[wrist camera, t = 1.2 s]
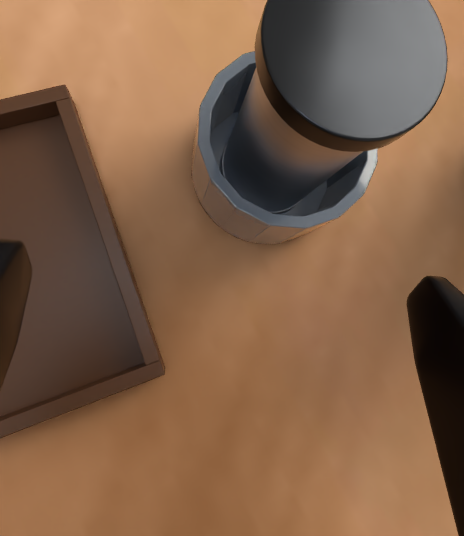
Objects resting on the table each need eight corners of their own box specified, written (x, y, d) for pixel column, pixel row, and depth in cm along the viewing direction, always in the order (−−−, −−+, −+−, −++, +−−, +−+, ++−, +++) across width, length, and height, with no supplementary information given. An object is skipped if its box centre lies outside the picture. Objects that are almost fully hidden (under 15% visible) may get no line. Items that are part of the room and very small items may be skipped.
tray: (165, 368, 23) (165, 374, 21) (-67, 457, 20) (-92, 473, 18) (74, 102, 23) (65, 83, 21) (-162, 160, 21) (-197, 145, 19)
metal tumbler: (329, 203, 25) (475, 112, 13) (235, 234, 24) (302, 165, 12) (294, 109, 25) (409, -65, 13) (200, 135, 24) (232, -30, 12)
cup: (352, 218, 25) (402, 195, 20) (220, 264, 24) (236, 252, 18) (305, 87, 26) (341, 29, 20) (171, 123, 24) (172, 70, 19)
